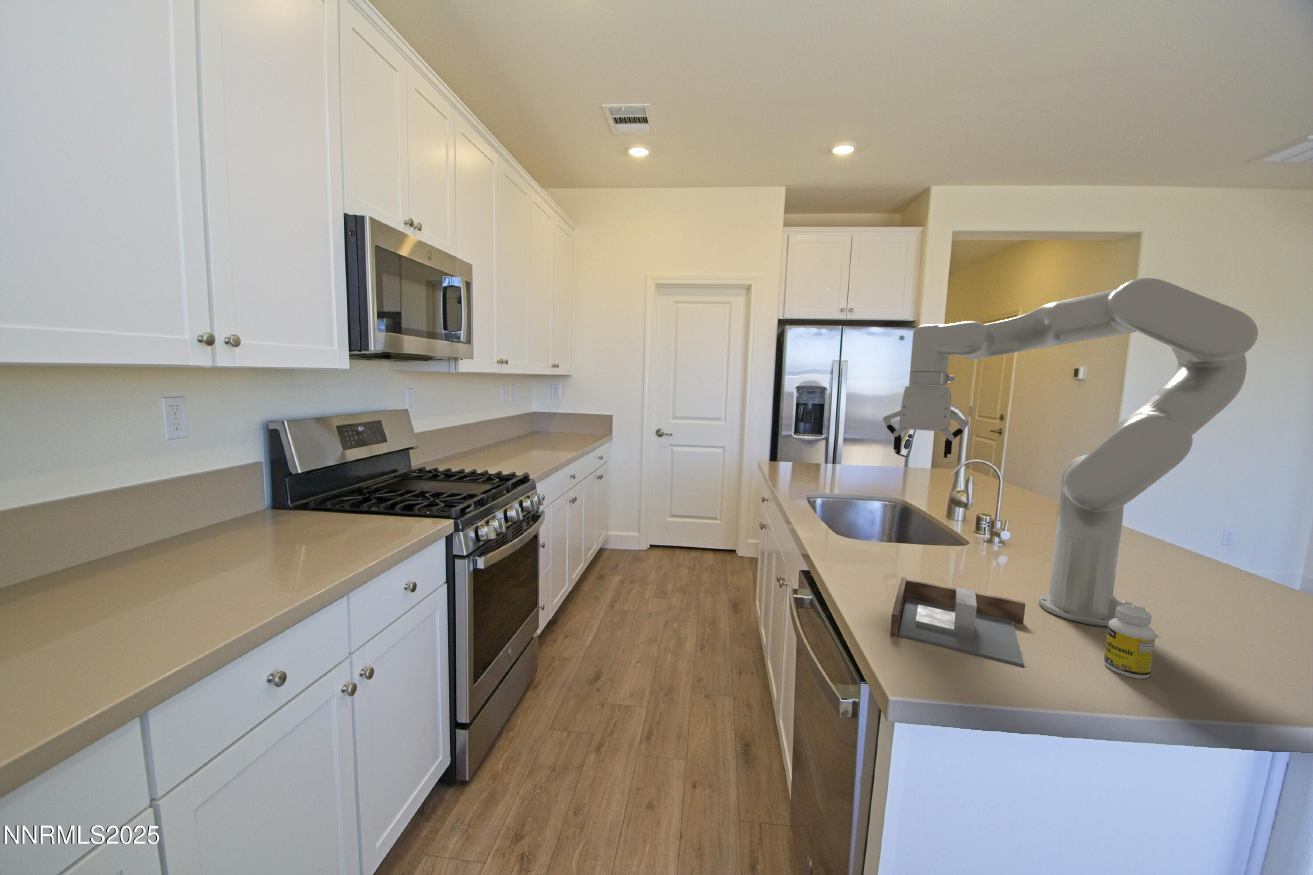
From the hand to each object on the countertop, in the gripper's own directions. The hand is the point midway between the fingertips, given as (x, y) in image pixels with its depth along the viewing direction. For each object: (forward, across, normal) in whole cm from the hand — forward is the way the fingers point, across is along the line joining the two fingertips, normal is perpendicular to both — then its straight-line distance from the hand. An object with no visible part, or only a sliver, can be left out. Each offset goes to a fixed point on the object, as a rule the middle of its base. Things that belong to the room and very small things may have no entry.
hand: (921, 455), depth 116 cm
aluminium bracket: (+28, -7, +26) cm, 39 cm away
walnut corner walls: (+28, -9, +26) cm, 39 cm away
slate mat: (+28, -9, +26) cm, 39 cm away
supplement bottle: (+28, -32, +27) cm, 51 cm away
